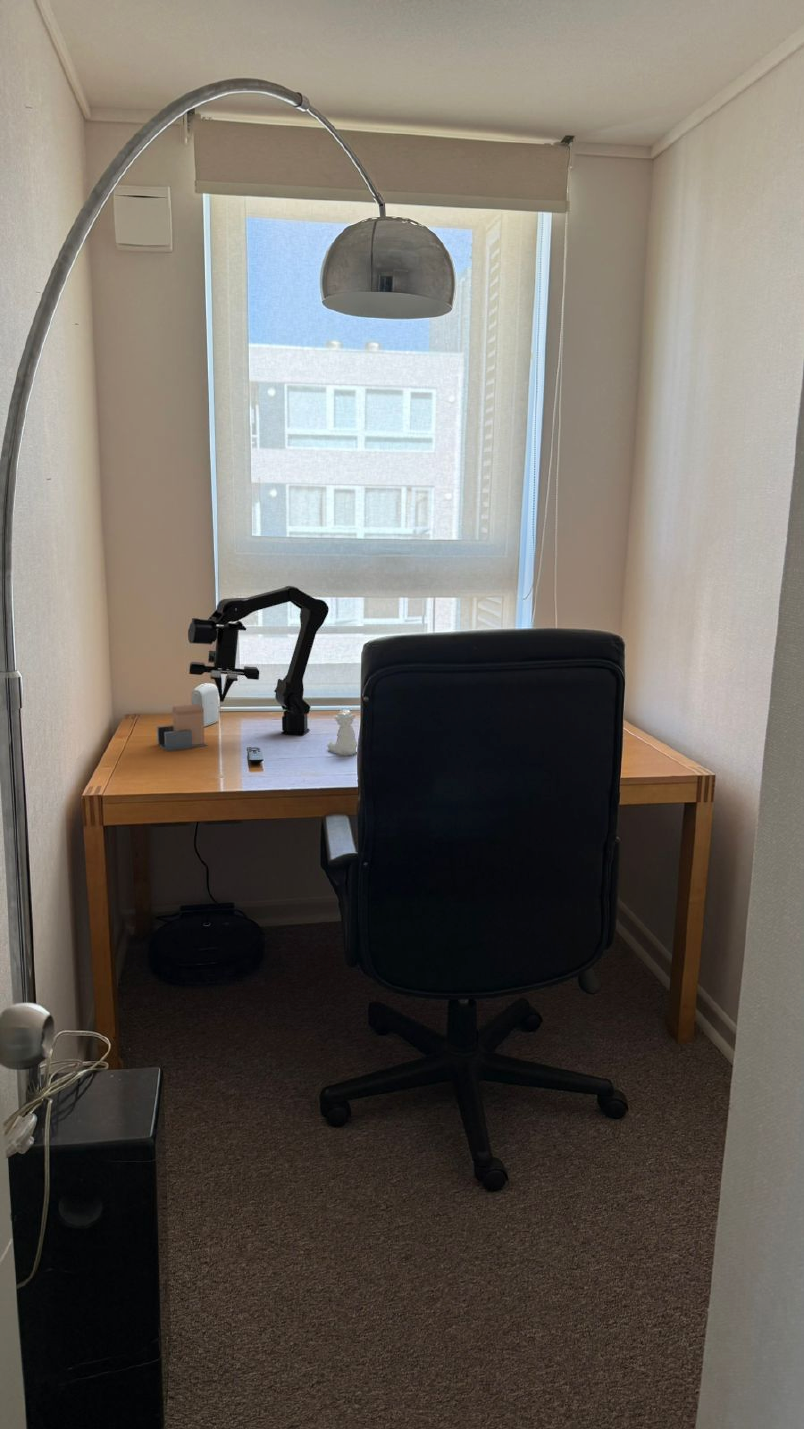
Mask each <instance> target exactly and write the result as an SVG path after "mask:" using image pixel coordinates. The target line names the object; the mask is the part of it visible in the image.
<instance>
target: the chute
mask: <svg viewBox="0 0 804 1429" xmlns="http://www.w3.org/2000/svg"><path fill="white" fill-rule="evenodd" d="M156 729H157V730H156V733H157V736H156V737H157V745H158V744H159V745H160V746H161V747H160V746H159V745H158V746H159V747H160V748H162V750H164V751H165V752H166V751H167V752H173V751H182V750H192V749H193V748H199V747H206V746H205V745H207V746H208V744H207V743H206V741H204V744H196V745H192V731H191V730H181V731H174V730H173V724H170V725H168V724H167V725H159V726H156ZM197 746H198V747H197Z"/></svg>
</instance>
